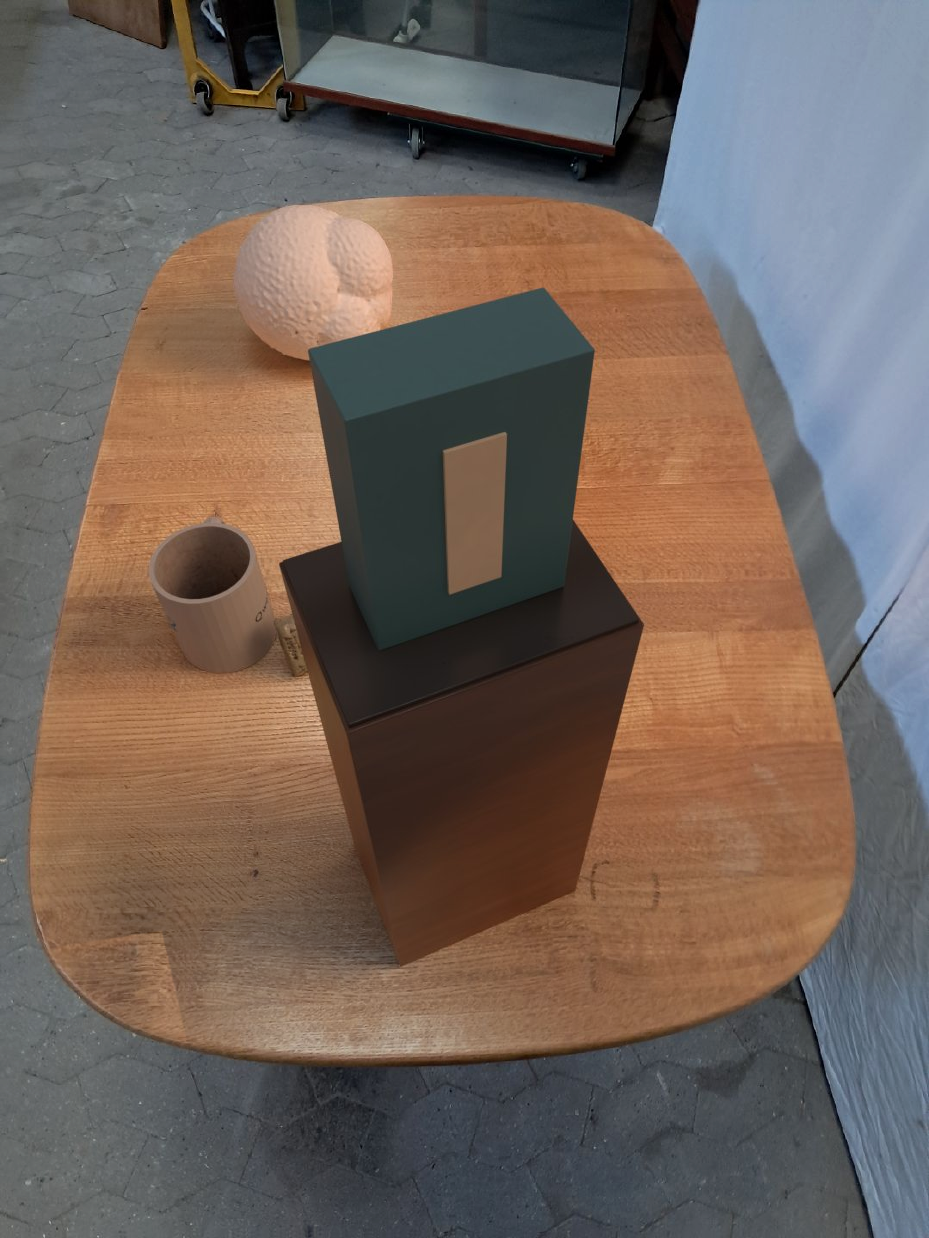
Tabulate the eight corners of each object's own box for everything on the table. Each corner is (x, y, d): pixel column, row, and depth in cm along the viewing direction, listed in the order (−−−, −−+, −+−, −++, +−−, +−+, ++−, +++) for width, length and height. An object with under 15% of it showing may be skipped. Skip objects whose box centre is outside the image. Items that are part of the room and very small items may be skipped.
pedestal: (575, 890, 67) (645, 620, 40) (399, 967, 64) (345, 730, 37) (518, 778, 73) (546, 473, 46) (353, 843, 70) (277, 558, 42)
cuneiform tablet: (429, 647, 81) (302, 700, 77) (408, 618, 84) (285, 667, 80) (419, 587, 76) (283, 640, 72) (398, 558, 79) (266, 608, 76)
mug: (265, 676, 79) (241, 607, 71) (169, 669, 79) (134, 600, 71) (293, 568, 86) (274, 493, 78) (204, 562, 87) (177, 488, 79)
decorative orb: (247, 300, 112) (218, 172, 99) (390, 286, 113) (380, 158, 100) (250, 407, 100) (218, 277, 87) (410, 389, 101) (401, 259, 89)
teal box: (566, 589, 41) (598, 352, 31) (379, 654, 39) (346, 423, 29) (526, 527, 43) (544, 286, 33) (348, 585, 41) (306, 348, 31)
